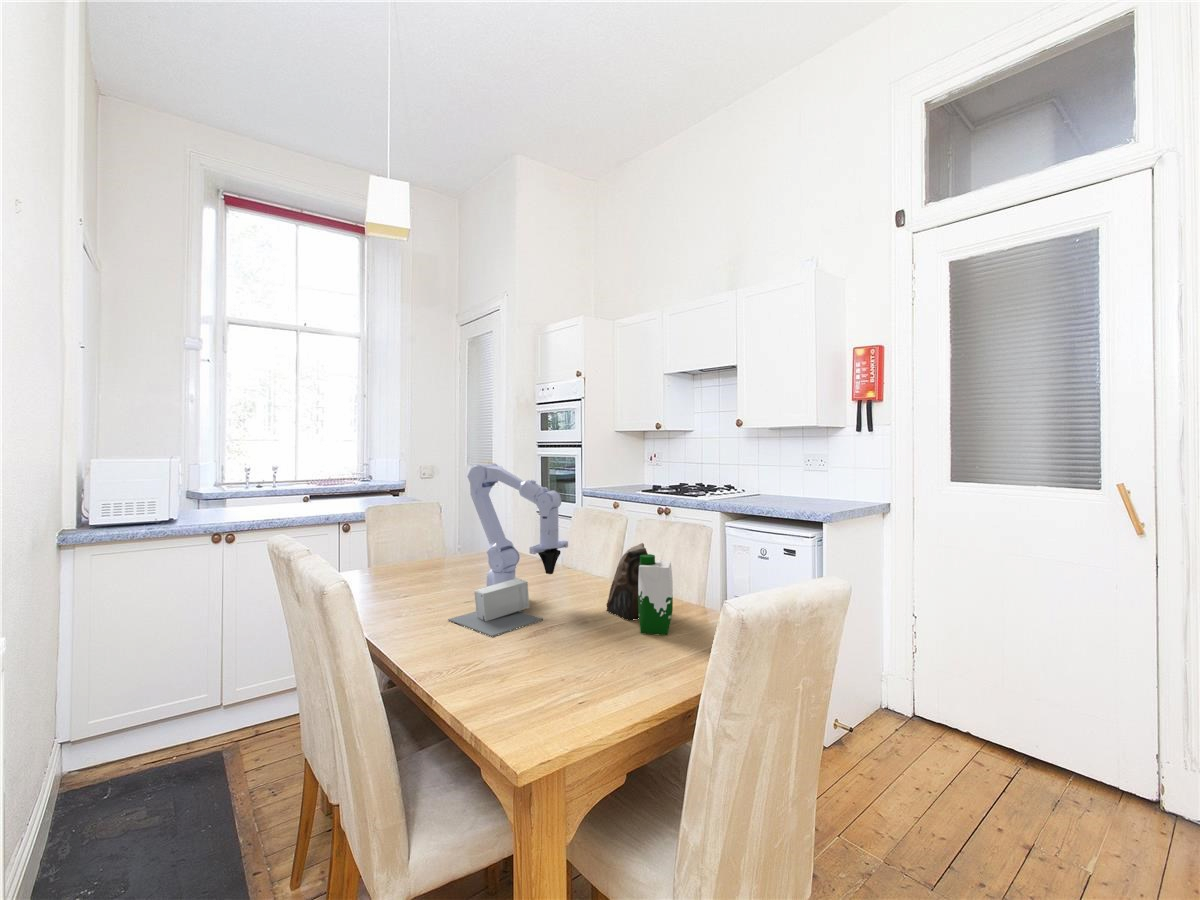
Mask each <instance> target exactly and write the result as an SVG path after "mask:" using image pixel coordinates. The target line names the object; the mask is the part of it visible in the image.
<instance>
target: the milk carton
mask: <svg viewBox="0 0 1200 900" xmlns="http://www.w3.org/2000/svg"><path fill="white" fill-rule="evenodd" d="M673 582H674V581H673V570H672V561H665V560H659V559H657V560H656V556H655V555H654V554H650V553H648V554H643V555H640V563H639V580H638V608H639V619H638V623H639V630H640V631H639V633H640V634H641V633H646V634H645V635H653V634H659V635H658V636H668V635H669V631H670V626H671V621H672V618H673V617H672V616H673V611H674V610H673V609H674V608H673V605H674V604H673V603H674V601H673V595H674V594H673V591H674V589H673V586H674V585H673Z"/></svg>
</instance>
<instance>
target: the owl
mask: <svg viewBox="0 0 1200 900" xmlns="http://www.w3.org/2000/svg"><path fill="white" fill-rule="evenodd" d="M643 554H649V553H648V550H647V548H646V547H645V544H644V543H643V542H642V543H640V544H637V545H635V546H632V547H630V548H629V549H627V550H626V551H625V553H624V554H623V555H622V556H621V558H620V560H619V562H618V564H617V567H616V571H615V574H614V577H613V579H612V582H611V585H610V590H609V594H608V599H607V602H606V612H607V611H609V612H608V613H610V612H611V613H610V614H612V613H613V614H612V615H614V614H616V615H615V616H617V615H618V616H620V617H619V618H622V617H623V618H624V619H623V618H622V619H623V620H625V619H628V620H627V621H630V620H633V619H638V618H639V608H638V580H639V563H640V555H643ZM618 616H617V617H618ZM638 620H639V619H638Z"/></svg>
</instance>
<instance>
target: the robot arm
mask: <svg viewBox="0 0 1200 900" xmlns="http://www.w3.org/2000/svg"><path fill="white" fill-rule="evenodd" d="M466 477H467V478H468V481H469V484H470V485H469V486H470V487H469V489H470V490H469V491H470V496H471V500H472V502H473V505H474V507H475V510H476V512H477V515H478V518H479V520H480V524H481V525H482V528H483V530H484V534H485V536H486V538H487V541H488V544H489V546H488V547H487V550H486V554H487V559H488V560H487V561H488V566H489V568H490V570H489V571H488V572H487V575H486V587H488V586H492V585H495V584H499V583H502V582H506V581H509V580H513V579H516V569H517V565H518V564H519V562H520V559H521V558H520V553H519V551H518V549H517V548H515V546H514V544H513V542H512V541H510V540H509V539H508V538H507V537H506V535H505V533H504V530H503V528H502V525H501V522H500V519H499V517H498V515H497V512H496V510H495V507H494V505H493V502H492V499H491V497H490V492H491V489H493V488H494V486H495V485H496V484H497V483H498V482H500V483H502V484H504V485H507V486H508V487H511V488H513V489H515V490H518V492H519V495H520V497H522V498H524V499H526V500H527V501H529V502H531V503H533V504H535V505H536V506H537V507H536V508H537V509H538V511H539V512H538V513H539V541H540V542H539V544H535V545H533V546H530V547H529V554H531V555H536V554H538V556H539V558H540V560H541V561H542V563H543V568H544V573H545V574H547V575H553V574H554V571H555V567H556V563H557V561H558V559H559V556H560V555H561V550H559V549H562V548H563V549H564V548H565V549H566V548H568V547H569V541H568V540H559V507H560V506H561V505H562V495H560V494H561V493H559V492H558V491H557V490H554V489H553V490H549V489H548V487H547V486H545V487H544V486H541V485H540V484H538V483H537V481H536V480H535V479H527V480H523V479H521V478H520V477H518V476H517V475H515V474H513V473H511V472H510V471H508V470H507V469H505V468H504V467H503V466H502V465H501V466H500V465H498V464H496V463H493V462H492V463H489V464H488V463H485V464H474V465H472V466H471V468H470V469H469V471H468V474H467V476H466Z"/></svg>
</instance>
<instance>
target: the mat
mask: <svg viewBox="0 0 1200 900" xmlns="http://www.w3.org/2000/svg"><path fill="white" fill-rule="evenodd" d="M448 620H449V621H448ZM541 620H542V621H543V620H544V618H542V617H539V616H536V615H534V614H533V615H532V614H529V613H526V612H523V611H521V610H520V611H517V612H514V613H511V614H508V615H505V616H502V617H499V618H496V619H493V620H490V621H484V620H482V619H480V618H478V617H477V616H476V610H475V611H472V612H469V613H465V614H461V615H459V616H455V617H452V618H447V621H448V622H450V621H451V623H453V622H454V623H453V624H456V623H457V624H456V625H458V624H459V625H458V626H461V625H462V626H461V627H464V626H465V627H464V628H466V627H467V628H466V629H469V628H470V630H471V629H473V630H472V631H474V630H475V631H474V632H477V631H478V632H477V633H479V632H481V633H480V634H482V633H483V635H485V634H486V635H485V636H487V635H489V636H488V637H490V636H491V637H490V638H493V637H492V636H494V637H496V635H497V636H499V635H498V634H500V635H502V634H501V633H503V634H505V633H504V632H506V633H508V632H507V631H509V632H511V631H510V630H512V631H514V630H513V629H515V630H517V629H516V628H518V629H520V628H519V627H521V628H523V627H522V626H524V627H526V626H525V625H527V626H529V624H530V625H533V624H535V622H536V623H539V622H542V621H541ZM538 621H539V622H538ZM532 623H533V624H532Z"/></svg>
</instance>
